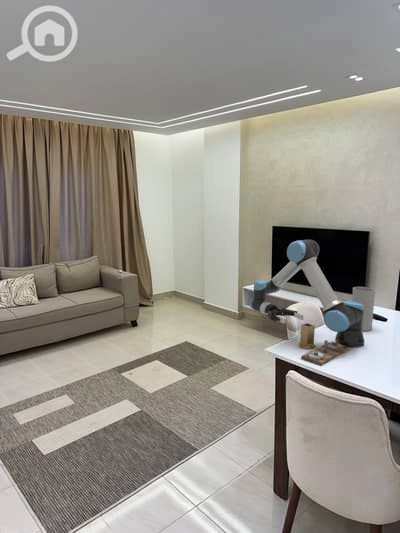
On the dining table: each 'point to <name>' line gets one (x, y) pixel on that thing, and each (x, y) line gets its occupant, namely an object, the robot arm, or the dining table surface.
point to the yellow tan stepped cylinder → (307, 336)
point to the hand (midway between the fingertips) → (294, 319)
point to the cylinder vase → (365, 304)
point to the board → (325, 353)
